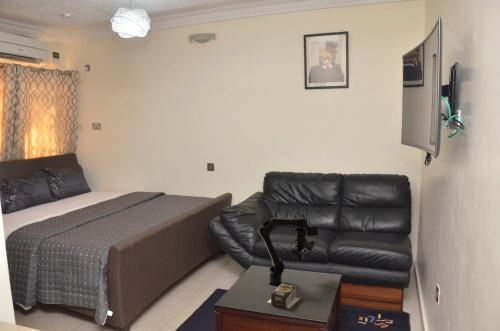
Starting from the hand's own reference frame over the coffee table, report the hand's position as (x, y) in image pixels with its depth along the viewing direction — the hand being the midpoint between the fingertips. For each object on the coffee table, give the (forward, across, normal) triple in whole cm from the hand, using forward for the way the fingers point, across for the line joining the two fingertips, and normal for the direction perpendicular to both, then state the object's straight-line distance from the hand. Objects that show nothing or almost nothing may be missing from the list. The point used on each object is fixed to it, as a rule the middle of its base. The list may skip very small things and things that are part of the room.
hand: (301, 261), depth 249 cm
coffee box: (+10, -23, -2) cm, 25 cm away
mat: (+13, -31, -3) cm, 34 cm away
